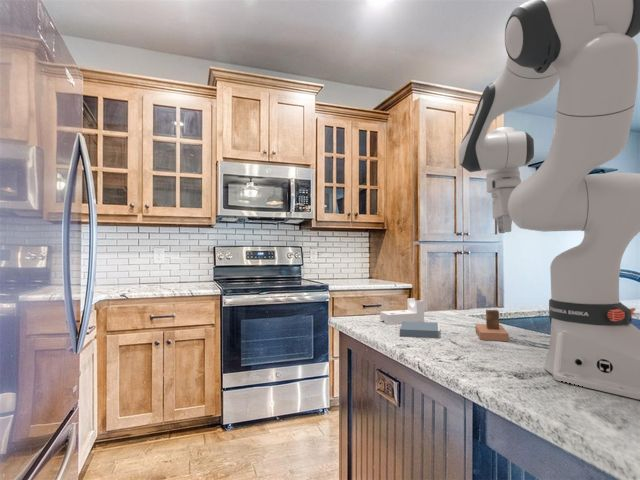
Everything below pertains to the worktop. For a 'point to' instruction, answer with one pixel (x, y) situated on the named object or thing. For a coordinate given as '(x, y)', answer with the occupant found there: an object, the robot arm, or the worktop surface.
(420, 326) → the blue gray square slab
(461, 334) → the worktop surface
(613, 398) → the worktop surface
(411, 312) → the bracket
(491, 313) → the stub
